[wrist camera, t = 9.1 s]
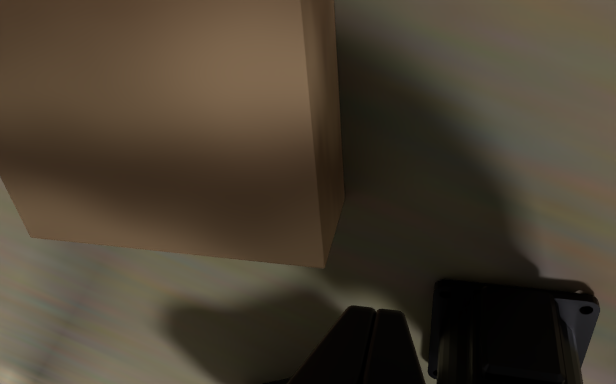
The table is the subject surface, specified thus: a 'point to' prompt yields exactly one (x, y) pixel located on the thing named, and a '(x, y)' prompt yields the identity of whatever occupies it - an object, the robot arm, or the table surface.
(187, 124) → the brown wooden block
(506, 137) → the table surface
